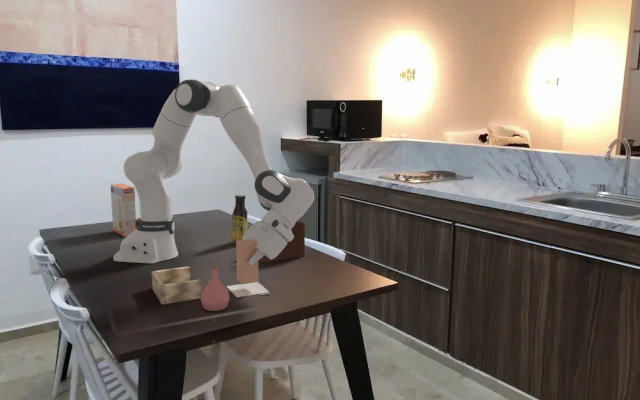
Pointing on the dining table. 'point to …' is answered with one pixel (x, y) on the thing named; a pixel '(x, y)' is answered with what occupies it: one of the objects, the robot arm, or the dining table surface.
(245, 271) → the block
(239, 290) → the coaster
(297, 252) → the letter holder
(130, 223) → the cracker box
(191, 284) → the crate
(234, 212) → the sauce bottle
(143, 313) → the dining table surface
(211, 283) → the pink vase
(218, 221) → the dining table surface
